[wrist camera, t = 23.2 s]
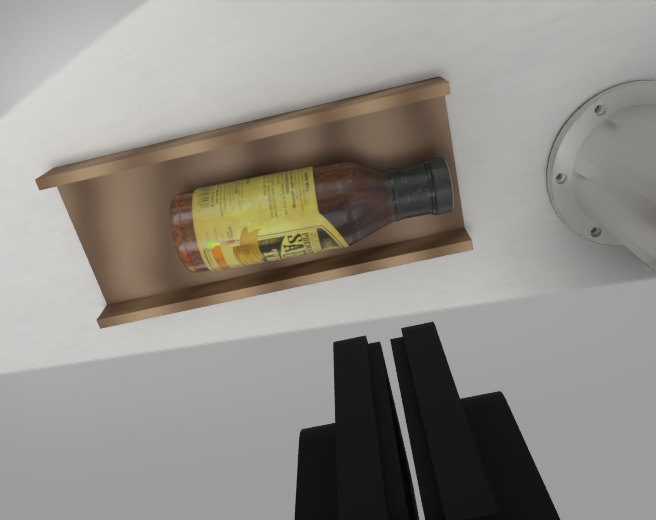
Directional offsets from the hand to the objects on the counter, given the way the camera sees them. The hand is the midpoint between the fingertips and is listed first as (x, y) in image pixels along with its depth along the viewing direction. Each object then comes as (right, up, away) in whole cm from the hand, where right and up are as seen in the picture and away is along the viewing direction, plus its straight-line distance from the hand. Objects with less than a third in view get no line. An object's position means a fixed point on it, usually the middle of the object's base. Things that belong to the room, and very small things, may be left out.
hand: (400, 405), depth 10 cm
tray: (-6, +7, +37) cm, 39 cm away
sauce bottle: (-12, +4, +35) cm, 37 cm away
